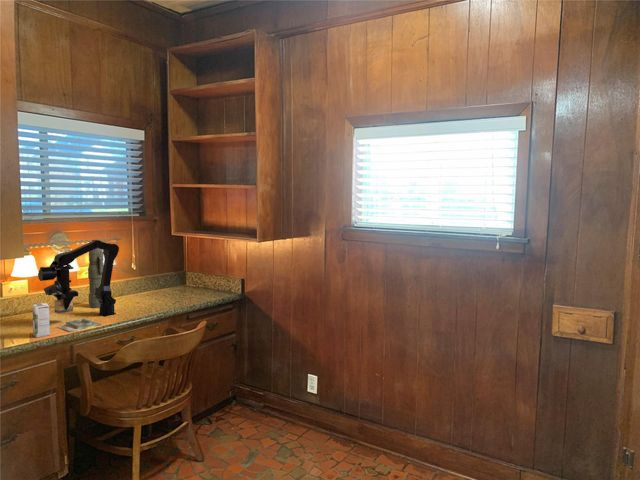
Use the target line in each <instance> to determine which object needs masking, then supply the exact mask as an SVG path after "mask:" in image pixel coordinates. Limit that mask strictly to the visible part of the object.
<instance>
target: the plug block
mask: <svg viewBox="0 0 640 480" xmlns="http://www.w3.org/2000/svg"><path fill="white" fill-rule="evenodd" d="M53 304H54V307H53V309H54V313H55V314H58V315H59V314H65V313H70V312H74V298H73V299H72V301H71V303H70V305H69V307H68V309H66V310H65V308H64V302H63V299H61V300H57V299H56V300H54V302H53Z"/></svg>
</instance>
